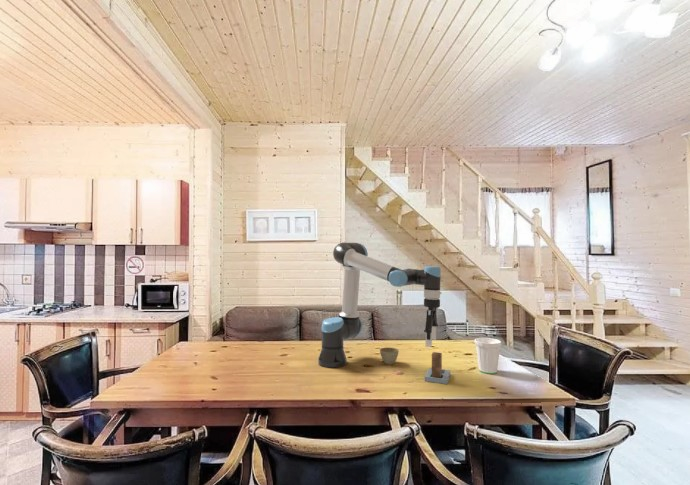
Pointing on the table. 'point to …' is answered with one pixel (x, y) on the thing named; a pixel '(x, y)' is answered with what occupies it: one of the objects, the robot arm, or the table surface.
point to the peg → (437, 365)
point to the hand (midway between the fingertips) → (430, 343)
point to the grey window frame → (437, 380)
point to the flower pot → (389, 355)
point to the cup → (488, 354)
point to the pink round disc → (398, 372)
